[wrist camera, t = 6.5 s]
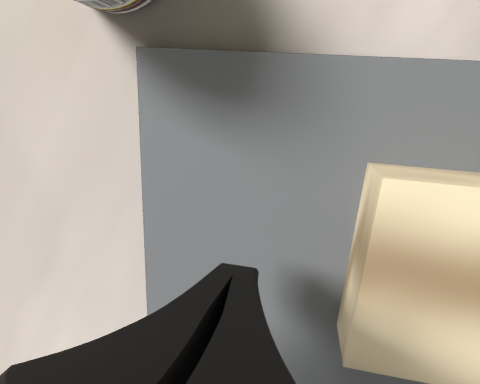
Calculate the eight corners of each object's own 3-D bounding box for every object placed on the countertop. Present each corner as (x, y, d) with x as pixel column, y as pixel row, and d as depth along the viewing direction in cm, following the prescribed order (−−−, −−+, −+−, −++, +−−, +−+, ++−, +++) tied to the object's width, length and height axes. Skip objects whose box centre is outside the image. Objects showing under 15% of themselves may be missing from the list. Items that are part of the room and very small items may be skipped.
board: (540, 449, 16) (552, 466, 15) (155, 366, 19) (149, 377, 18) (736, 74, 10) (771, 72, 9) (145, 49, 14) (135, 46, 13)
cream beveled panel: (522, 356, 14) (568, 410, 11) (336, 324, 15) (343, 366, 13) (598, 183, 11) (677, 207, 9) (367, 162, 12) (382, 178, 10)
